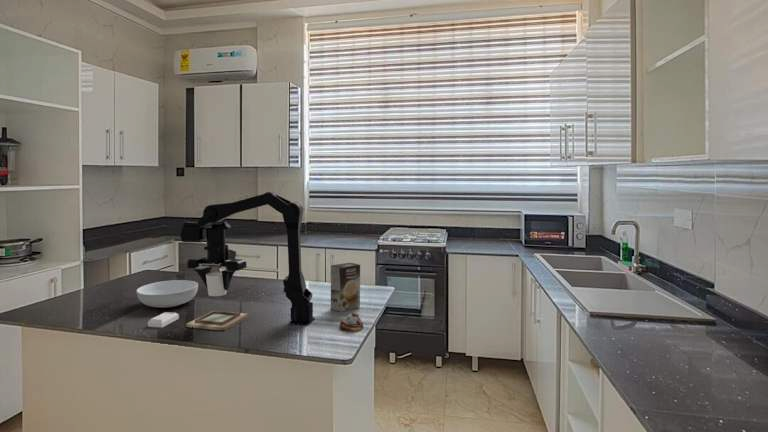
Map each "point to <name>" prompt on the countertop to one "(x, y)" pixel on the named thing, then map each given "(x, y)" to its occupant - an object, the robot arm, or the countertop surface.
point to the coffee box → (345, 286)
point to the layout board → (217, 320)
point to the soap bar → (163, 319)
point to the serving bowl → (167, 293)
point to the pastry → (351, 323)
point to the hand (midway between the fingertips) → (217, 289)
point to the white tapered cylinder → (215, 284)
